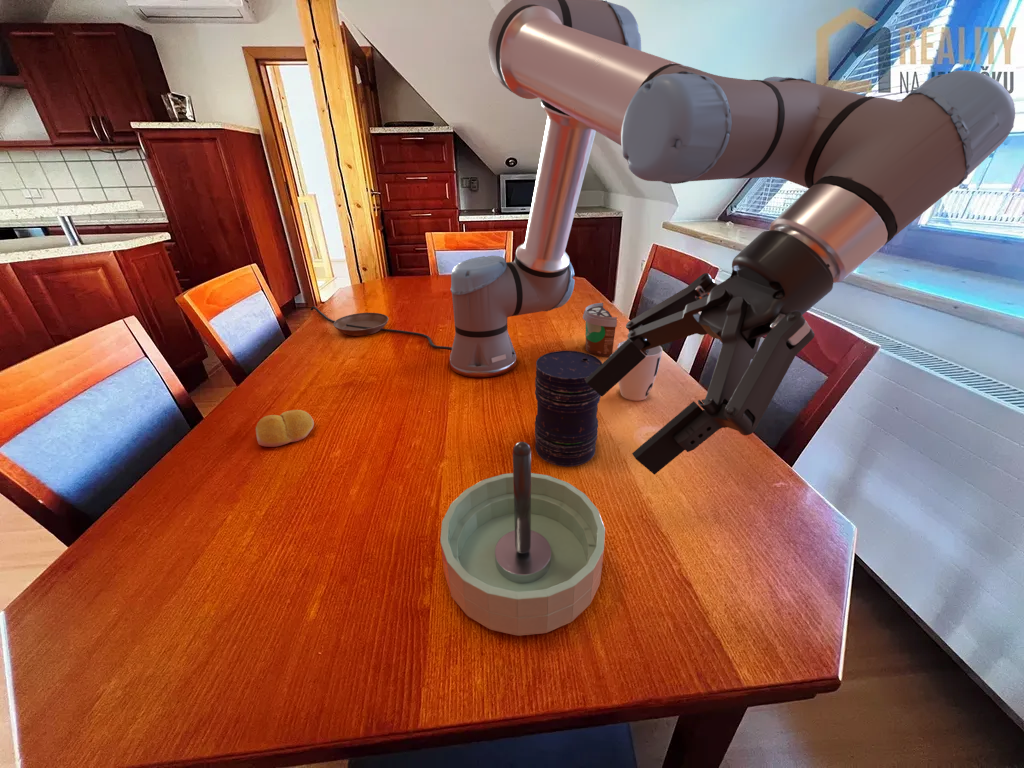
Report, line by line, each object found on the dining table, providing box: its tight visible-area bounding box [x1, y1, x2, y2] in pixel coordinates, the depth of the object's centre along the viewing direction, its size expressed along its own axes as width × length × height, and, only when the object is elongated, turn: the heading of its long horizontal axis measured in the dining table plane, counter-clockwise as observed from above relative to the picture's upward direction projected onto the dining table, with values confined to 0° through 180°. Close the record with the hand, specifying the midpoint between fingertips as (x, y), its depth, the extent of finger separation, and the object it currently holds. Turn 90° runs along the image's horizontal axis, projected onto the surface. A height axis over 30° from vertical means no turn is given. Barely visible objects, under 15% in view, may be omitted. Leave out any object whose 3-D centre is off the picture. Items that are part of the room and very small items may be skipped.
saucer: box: [332, 312, 390, 337], centre depth 119 cm, size 15×15×3 cm
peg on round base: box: [495, 441, 551, 583], centre depth 45 cm, size 6×6×16 cm
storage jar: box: [534, 350, 603, 467], centre depth 65 cm, size 10×10×15 cm
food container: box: [582, 302, 618, 358], centre depth 102 cm, size 12×6×10 cm, turn 5°
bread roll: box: [255, 409, 315, 448], centre depth 73 cm, size 8×9×4 cm
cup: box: [616, 340, 663, 402], centre depth 81 cm, size 8×8×10 cm
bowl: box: [439, 472, 606, 637], centre depth 47 cm, size 18×18×6 cm
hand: (614, 421), depth 42 cm, fingers open, 13 cm apart
